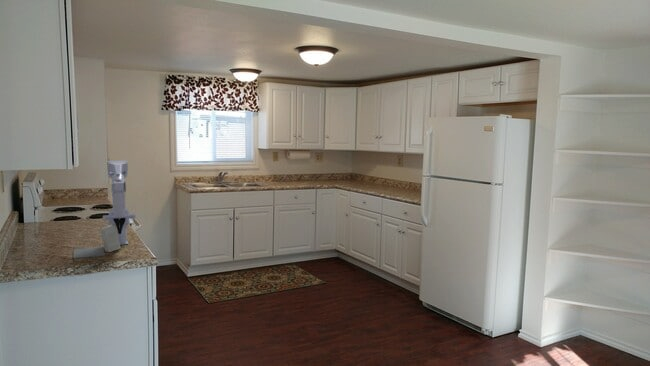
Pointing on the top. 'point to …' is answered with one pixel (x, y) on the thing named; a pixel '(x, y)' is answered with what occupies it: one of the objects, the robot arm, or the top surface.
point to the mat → (88, 252)
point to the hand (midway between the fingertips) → (119, 233)
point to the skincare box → (110, 238)
